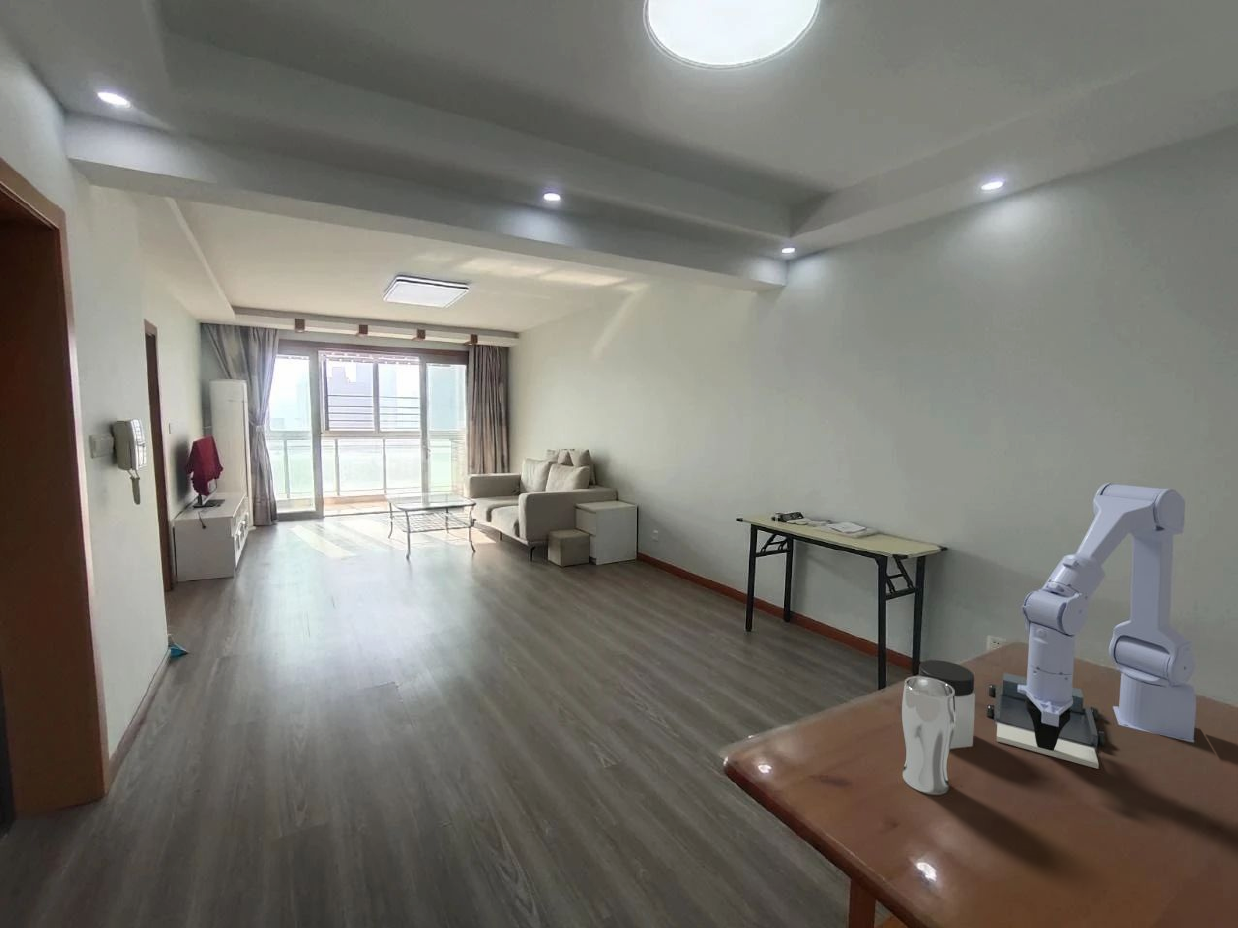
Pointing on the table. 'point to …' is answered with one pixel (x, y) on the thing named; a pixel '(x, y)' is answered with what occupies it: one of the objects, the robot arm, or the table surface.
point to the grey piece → (1016, 714)
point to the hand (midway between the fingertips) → (1045, 747)
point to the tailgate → (1062, 749)
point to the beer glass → (927, 733)
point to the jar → (956, 696)
